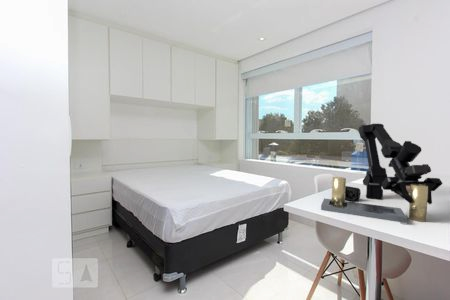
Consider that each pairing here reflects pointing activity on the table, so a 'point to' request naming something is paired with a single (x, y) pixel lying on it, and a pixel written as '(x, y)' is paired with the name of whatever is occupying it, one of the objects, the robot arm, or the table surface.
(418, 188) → the brass billet
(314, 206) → the table surface
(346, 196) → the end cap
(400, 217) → the plate
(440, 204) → the table surface
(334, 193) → the cylinder
